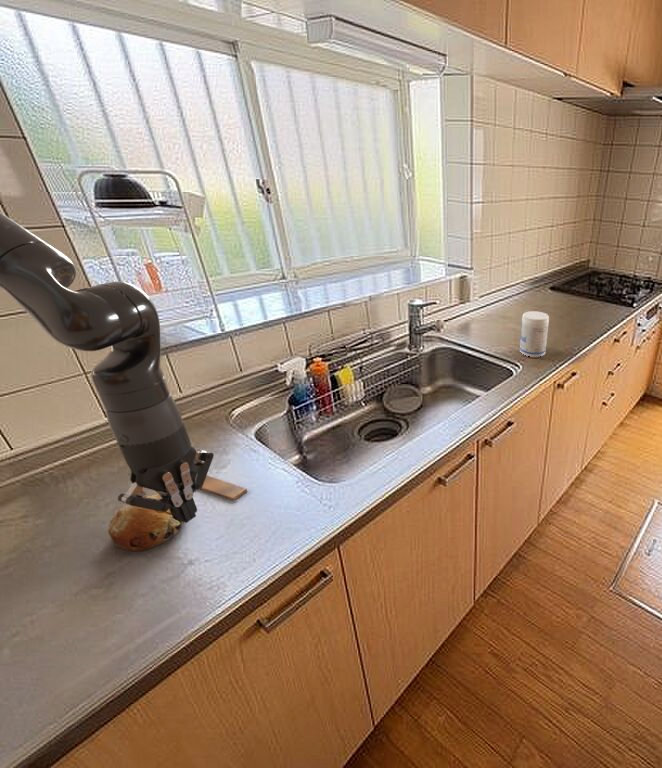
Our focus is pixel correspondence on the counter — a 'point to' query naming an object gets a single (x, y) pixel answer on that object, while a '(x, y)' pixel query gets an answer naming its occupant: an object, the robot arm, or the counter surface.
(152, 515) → the bread roll
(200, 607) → the counter surface
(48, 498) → the counter surface
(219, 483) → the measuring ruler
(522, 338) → the supplement tub
